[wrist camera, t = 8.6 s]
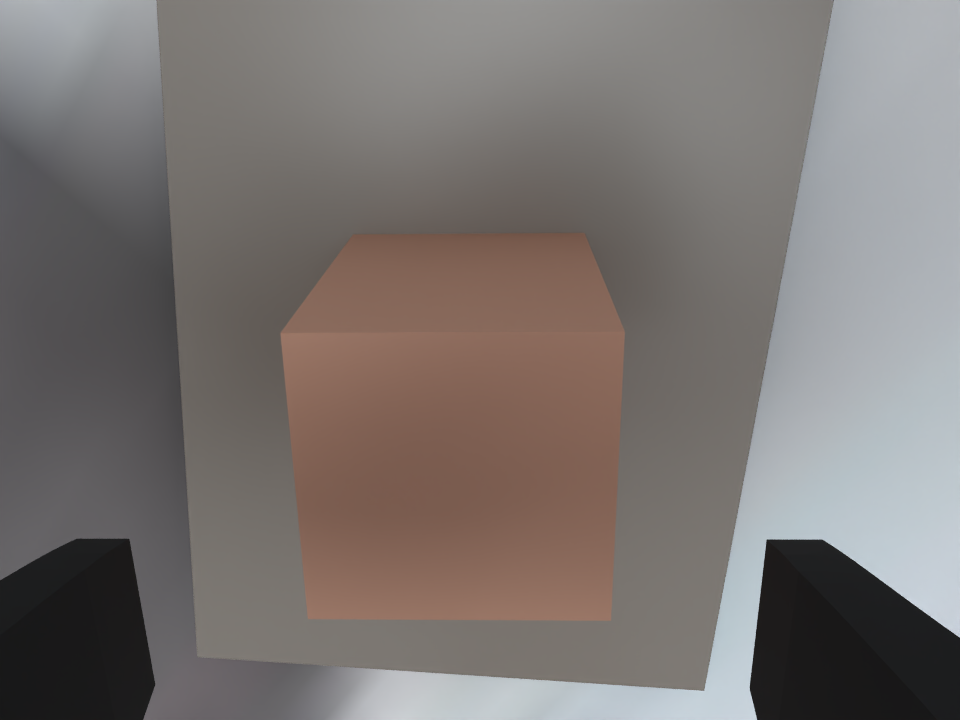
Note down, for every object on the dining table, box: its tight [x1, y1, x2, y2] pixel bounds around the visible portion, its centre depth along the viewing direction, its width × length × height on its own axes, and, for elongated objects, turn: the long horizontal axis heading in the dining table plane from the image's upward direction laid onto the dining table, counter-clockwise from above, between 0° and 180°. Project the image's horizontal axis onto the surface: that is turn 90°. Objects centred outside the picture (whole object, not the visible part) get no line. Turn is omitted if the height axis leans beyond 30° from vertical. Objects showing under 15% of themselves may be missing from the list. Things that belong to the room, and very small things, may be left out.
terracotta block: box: [280, 233, 625, 621], centre depth 15 cm, size 4×4×6 cm
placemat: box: [157, 0, 834, 691], centre depth 18 cm, size 12×16×1 cm
